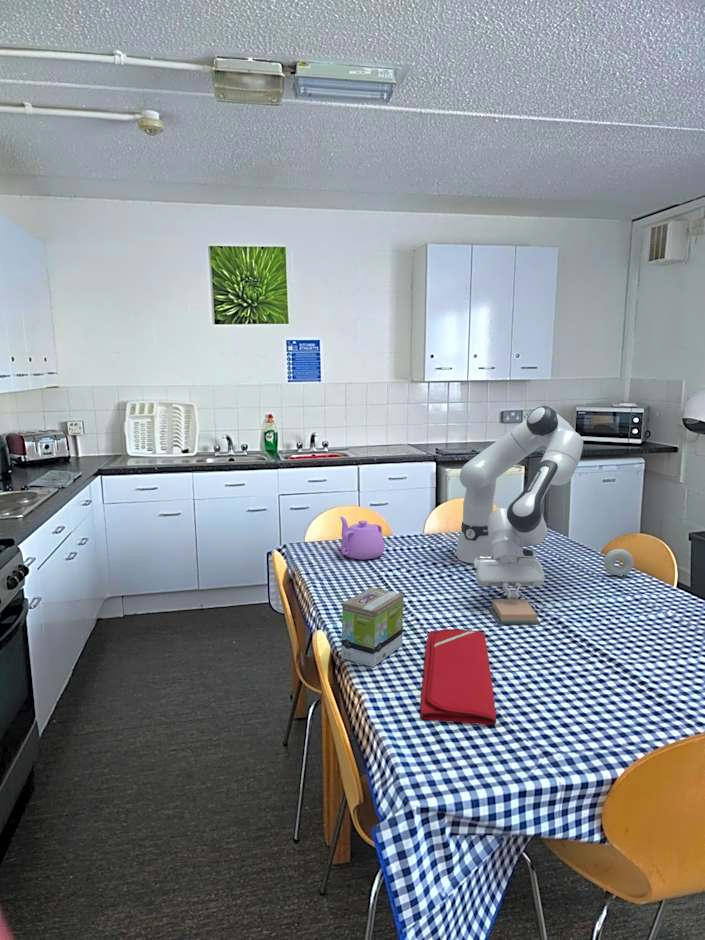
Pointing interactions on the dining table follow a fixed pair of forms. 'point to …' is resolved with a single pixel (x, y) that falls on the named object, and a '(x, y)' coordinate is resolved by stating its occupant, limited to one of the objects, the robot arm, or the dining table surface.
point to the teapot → (362, 540)
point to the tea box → (372, 626)
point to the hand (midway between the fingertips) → (513, 598)
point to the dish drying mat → (457, 678)
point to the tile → (514, 610)
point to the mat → (509, 622)
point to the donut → (616, 554)
